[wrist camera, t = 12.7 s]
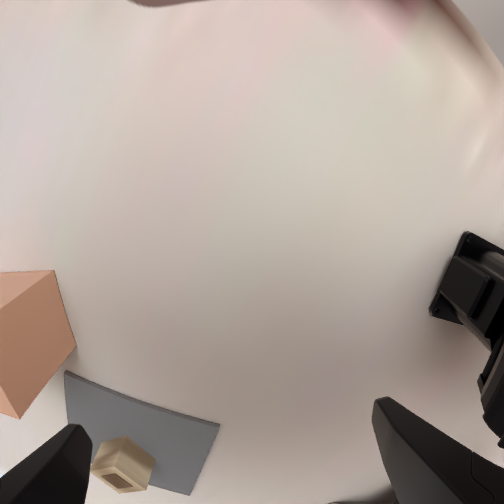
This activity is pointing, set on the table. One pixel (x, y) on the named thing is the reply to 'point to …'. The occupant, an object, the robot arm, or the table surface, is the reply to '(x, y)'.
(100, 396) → the charcoal mat
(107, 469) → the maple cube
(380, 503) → the table surface
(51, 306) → the salmon orange block
